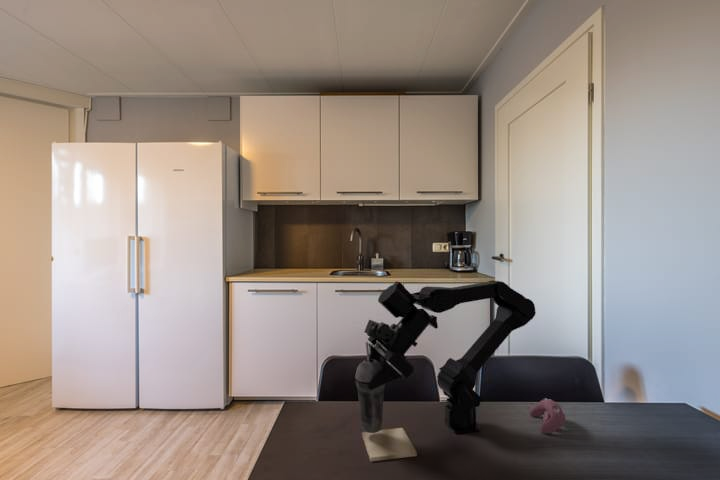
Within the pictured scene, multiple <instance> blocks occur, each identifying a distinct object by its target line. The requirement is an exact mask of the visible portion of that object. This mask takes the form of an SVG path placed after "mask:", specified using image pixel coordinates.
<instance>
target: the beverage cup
mask: <svg viewBox="0 0 720 480" xmlns="http://www.w3.org/2000/svg"><path fill="white" fill-rule="evenodd" d="M368 344H369V341H365V350H366V359H364V360H363V361H361V362H360V363H359V365H358V366H357V368H356V372H355V377H354V380H355V385H356V388H357V394H358V395H357V396H358V404H359V412H360V421H361V429H362V431H363V432H368V433H376V432H379V431H380V430H383V429H382V428H383V427H382V424H383V416H384V415H383V413H384V412H383V411H384V393H385V392H384V391H385V385H386V384H384V385H381V386H379V387H377V388H375V389H373V390H370V389H369V388H368V385H369V383H370V381H371V380H372V378H373V376H374V375H375V373H376V372H377V370H378V369H379V367H380V363H379V362H378V361H376V360H373V359H369V353H370V351H369V345H368Z"/></svg>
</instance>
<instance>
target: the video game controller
mask: <svg viewBox="0 0 720 480" xmlns="http://www.w3.org/2000/svg"><path fill="white" fill-rule="evenodd" d="M529 416H530V417H532V418H537V417H541V416H542V419H543V423H542V424H541V425H540V427H539V430H540V433H542V434H544V435H549V434H552V433H554V432H556V431H557V430H558V429H559V428H561V427H562V426H564V424H565V423H566V414H565V413H564V412H563V409H562V407H561V405H560V404H559V403H558V402H557V401H554V400H553V399H548V398H546V397H545V398H543V399H541V400H540V401H539V402H538V403H536V404H535V405H533V406H532V407H530V408H529Z"/></svg>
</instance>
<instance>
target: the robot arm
mask: <svg viewBox="0 0 720 480" xmlns="http://www.w3.org/2000/svg"><path fill="white" fill-rule="evenodd" d="M488 299H492V300H493V302H494V303H495V305H497V308H496V313H495V318H494V320H492V322H491V323H490V324H489V325H488V327H487V328H486V329H485V330H484V331H483V332H482V334H480V336H479V337H478V338H477V339H476V340H475V342H474V343H473V344H472V345H471V346H470V348H468V350H466V352H465V353H464V354H463V356H462V357H461V358H459V359H453V357H449V358H448V359H447V360H446V362H445V364H443V366H441V367H439V372H438V374H437V376H436V378H437V379H436V381H437V385H438V387H439V389H440V390H441V391H442V393H443V395H444V396H446V397H447V398H446V405H444V418H443V419H444V422H445V423H446V424H447V426H448V427H449V428H450V429H451V430H452V431H453V432H454V433H455V434H461V433H471V432H479V431H480V427H479V426H478V425H477V411H476V409H477V407H479V408H480V404H481V401H482V396H480V395H479V394H478V392H476V391H475V389H474V388H475V386H476V384H477V378H478V373H479V372H480V371H481V369H482V368H483V367H484V365H486V363H487V362H488V361H489V359H491V357H492V356H493V355H494V354H495V352H496V351H497V350H498V349H499V348H500V346H501V345H502V344H503V342H505V340H506V339H507V338H508V337H509V335H510V334H511V333H512V332H513V331H515V330H518V329H520V328H521V327H524V326H526V325H527V324H528V323H529V322H530V321H531V320H533V319H534V318H535V316H536V313H537V312H536V305H535V303H534V301H532V300H531V298H527V297H525V296H524V295H523V294H522V293H520V292H518V291H516V290H515V289H513V288H512V287H511V286H509V285H508V284H507V283H505V282H504V281H500V280H494V279H493V280H492V279H491V280H489V281H486V282H479V283H473V284H467V285H466V284H465V285H460V286H455V287H454V286H453V287H447V286H446V287H445V286H444V287H443V286H424V287H422V288H421V289H420V291H418V292H412V293H410V291H408V289H407V288H406V287H405V285H404V284H402V282H400V281H397V280H395V282H394V283H393V284H391V285H389V286H388V287H387V288H386V289H384V290H383V291H381V293H380V295H379V297H378V299H377V301H378V303H379V304H380V305H381V306H382V307H384V308H385V310H387V311H388V312H389V313H390V314H391V315H392V316H393V317H394V318H401V319H400V320H399V322H398V323H392V324H390V325H389V324H388V323H385V322H383V321H380V323H379V322H377V321H374V320H372V319H368V320H367V321H368V322H367V324H366V326H365V329H364V333H365V334H366V335H367V336H368V338H367V341H368V349H369V359H373V360H376V361H378V362H379V363H380V367H379V369H378V370H377V372H376V373H375V375H374V376H373V378H372V380H371V381H370V383H369V385H368V388H369V389H370V390H373V389H375V388H377V387H379V386H381V385H384V384H385V385H386V384H388V383H390V382H393V381H396V380H398V379H403V378H404V377H405V378H406V379H407V380H409V379H410V378H411V377H412V375H413V374H414V372H415V371H414V370H415V368H414V365H413V364H411V362H410V361H409V360H407V356H405V355H406V353H407V352H408V351H409V349H411V347H412V346H413V347H415V348H416V347H417V346H418V342H417V340H418V338H420V336H421V335H422V333H424V331H425V330H426V329H427V328H428V326H430V327H432V328H433V329H438V328H439V326H438V317H437V316H435V315H433V314H431V315H430V313H428V312H427V311H430V312H433V313H436V314H441V313H443V312H447V311H449V310H452V309H453V308H455V307H456V306H458V305H460V304H464V303H470V302H471V303H472V302H476V301H482V300H488ZM416 305H418V306H420V307H421V308H418V307H417V306H416ZM369 342H370V343H369Z"/></svg>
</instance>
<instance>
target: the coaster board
mask: <svg viewBox="0 0 720 480" xmlns="http://www.w3.org/2000/svg"><path fill="white" fill-rule="evenodd" d="M361 437H362V439H363V443H364V445H365V449H366V452H367V454H368V458H369V462H379V461H386V460H395V459H400V458H401V459H403V458H411V457H417V456H418V452H417V450H416V448H415V446H414V445H413V443H412V441H411V440H410V438H409V437H408V435H407V432H406V431H405V430H404V428H403V427H397V428H388V429H387V428H386V429H381V430H380V431H379V432H376V433H368V432H365V431H361Z"/></svg>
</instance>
